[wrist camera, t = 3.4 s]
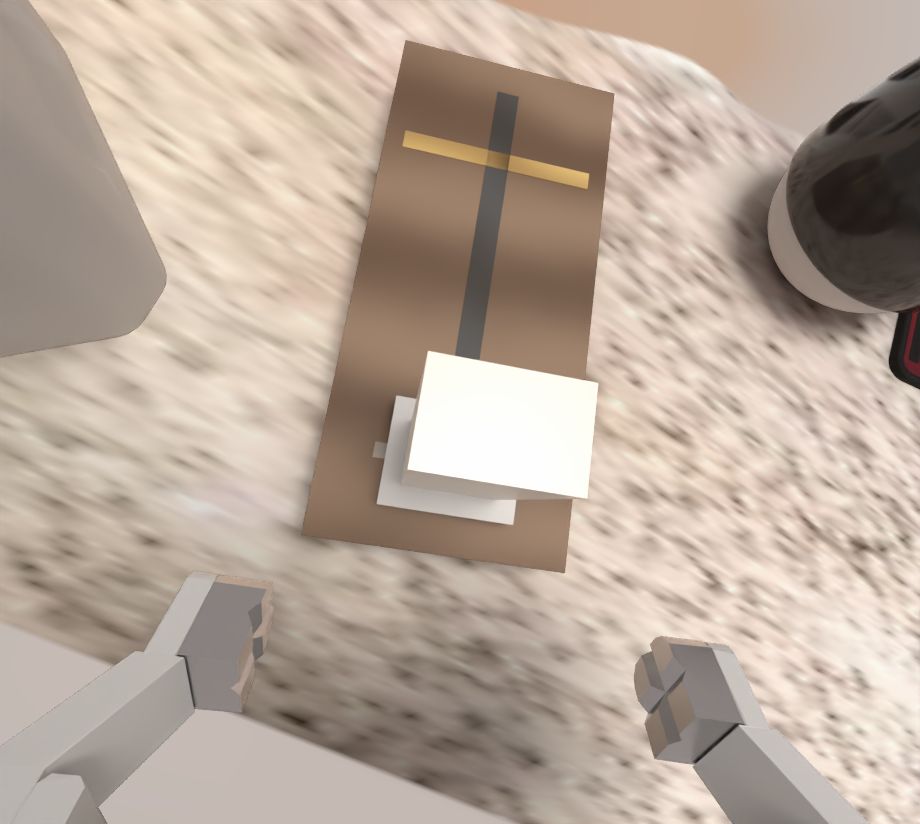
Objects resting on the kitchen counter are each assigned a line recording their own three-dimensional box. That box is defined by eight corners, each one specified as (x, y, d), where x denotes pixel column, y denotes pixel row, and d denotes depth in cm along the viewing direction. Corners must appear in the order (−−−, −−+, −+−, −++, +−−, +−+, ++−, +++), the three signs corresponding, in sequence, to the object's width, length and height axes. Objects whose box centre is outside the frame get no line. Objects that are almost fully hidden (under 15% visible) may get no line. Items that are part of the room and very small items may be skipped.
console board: (541, 563, 22) (565, 573, 19) (313, 530, 21) (300, 534, 18) (589, 139, 26) (614, 93, 23) (404, 94, 25) (405, 39, 22)
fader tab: (509, 524, 18) (616, 544, 10) (377, 504, 18) (363, 506, 9) (522, 421, 19) (633, 353, 10) (396, 398, 19) (400, 306, 10)
